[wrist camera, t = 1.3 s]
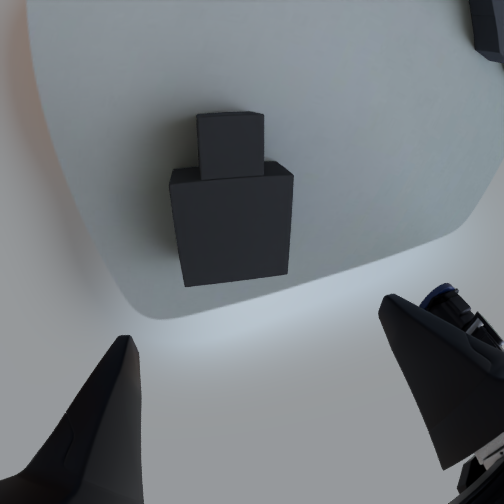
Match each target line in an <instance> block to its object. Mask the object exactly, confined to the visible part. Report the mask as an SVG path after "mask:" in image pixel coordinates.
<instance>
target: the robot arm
mask: <svg viewBox="0 0 504 504" xmlns="http://www.w3.org/2000/svg"><path fill="white" fill-rule="evenodd" d="M458 292H459V290H458V289H457V288H456V289H453V290H451V291H448V292H445V293H442V294H439V295H436V296H434V297H432V298H431V300H430V302H429V304H428V306H427V308H426V310H424V309H422V308H420V307H418V306H416V305H415V304H413V303H411V302H409V301H407V300H405V299H403V298H402V297H400V296H397V295H396V294H390V295H386V296H384V298H383V300H382V303H381V306H380V308H379V312H378V315H379V319H380V321H381V324H382V326H383V329H384V331H385V334H386V336H387V339H388V341H389V344H390V347H391V349H392V351H393V353H394V355H395V358H396V360H397V362H398V364H399V366H400V368H401V370H402V372H403V374H404V376H405V378H406V381H407V383H408V385H409V387H410V389H411V391H412V394H413V396H414V398H415V400H416V402H417V405H418V407H419V409H420V412H421V414H422V417H423V419H424V422H425V424H426V427H427V429H428V431H429V434H430V437H431V440H432V442H433V445H434V448H435V450H436V453H437V456H438V458H439V461H440V464H441V467H442V469H443V470H446V469H447V468H449V467H451V466H453V465H455V464H456V463H458V462H460V461H461V460H463V459H465V458H466V457H468V456H470V455H471V454H473V453H474V454H475V455H474V456H473V457H472V458H471V459H469V460H468V461H467V462H466V463H465V464H464V465H463V468H462V472H461V476H460V479H459V482H458V486H457V490H458V492H459V494H460V495H459V496H457V497H456V498H455V499H454V500H452V501H451V502H450V503H448V504H504V350H503V348H502V347H501V346H502V345H503V344H504V341H503V340H502V339H501V337H500V336H499V335H498V334H497V332H496V331H495V330H494V329H493V328H492V326H491V325H490V324H489V323H488V322H487V321H486V319H485V318H484V317H483V316H482V315H481V314H480V313H479V312H476V314H475V315H474V314H473V313H472V312H471V311H470V310H471V308H470V306H469V305H468V304H467V303H466V302H465V301H464V300H463V299H462V298H461V297H460V296H459V295H458ZM482 324H484V325H483V326H481V325H482ZM66 413H67V414H66ZM66 413H65V414H64V416H63V417H62V419H61V420H60V422H59V424H58V425H57V426H56V428H55V429H54V431H53V432H52V434H51V435H50V436H49V438H48V439H47V440H46V442H45V443H44V445H43V446H42V447H41V449H40V450H39V451H38V452H37V454H36V455H35V456H34V458H33V459H32V460H31V462H30V463H29V464H28V465H27V467H26V468H25V469H24V470H23V471H21V472H20V473H18V474H17V475H14V476H12V477H9V478H6V479H3V480H0V504H144V503H143V502H144V499H143V485H142V467H141V381H140V362H139V352H138V350H137V347H136V345H135V343H134V341H133V339H132V337H131V336H130V335H121V336H118V337H117V338H116V340H115V341H114V343H113V344H112V345H111V347H110V348H109V350H108V351H107V352H106V354H105V355H104V356H103V358H102V359H101V361H100V362H99V363H98V365H97V367H96V368H95V369H94V371H93V372H92V373H91V375H90V377H89V378H88V379H87V381H86V382H85V384H84V385H83V387H82V388H81V390H80V391H79V393H78V394H77V396H76V397H75V399H74V400H73V402H72V403H71V405H70V406H69V408H68V410H67V411H66Z"/></svg>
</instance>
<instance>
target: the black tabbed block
mask: <svg viewBox="0 0 504 504" xmlns="http://www.w3.org/2000/svg"><path fill="white" fill-rule="evenodd" d="M196 121H197V139H198V156H199V166H198V167H189V168H180V169H173V172H172V176H171V179H170V183H169V191H170V198H171V206H172V213H173V220H174V227H175V233H176V240H177V246H178V252H179V258H180V263H181V269H182V274H183V280H184V285H185V287H191V286H200V285H208V284H217V283H225V282H233V281H241V280H248V279H256V278H264V277H271V276H278V275H285V274H287V273H288V260H289V247H290V233H291V217H292V200H293V180H294V175H293V174H292V173H291V172H289V171H288V170H287V169H286V168H284V167H283V166H282V165H280V164H279V163H278V162H276V161H272V162H264V114H260V113H255V112H250V111H249V112H222V113H207V114H197V115H196Z"/></svg>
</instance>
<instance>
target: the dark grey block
mask: <svg viewBox="0 0 504 504" xmlns="http://www.w3.org/2000/svg"><path fill="white" fill-rule="evenodd" d="M469 3H470V9H471V15H472V22H473V30H474V39H475V50H476V51H477V52H479V53H480V54H481V55H483V56H484V57H485V58H487V59H488V60H489V61H494V62H500V63H504V0H469Z"/></svg>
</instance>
